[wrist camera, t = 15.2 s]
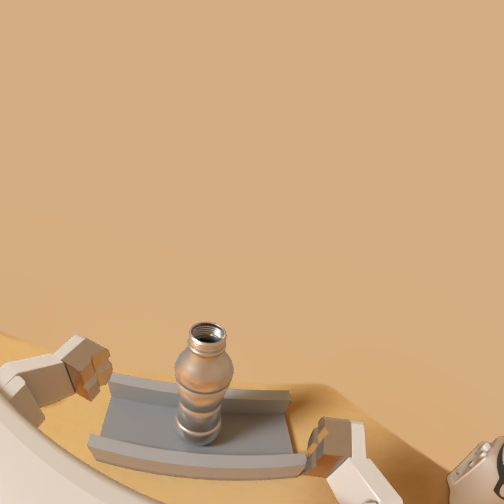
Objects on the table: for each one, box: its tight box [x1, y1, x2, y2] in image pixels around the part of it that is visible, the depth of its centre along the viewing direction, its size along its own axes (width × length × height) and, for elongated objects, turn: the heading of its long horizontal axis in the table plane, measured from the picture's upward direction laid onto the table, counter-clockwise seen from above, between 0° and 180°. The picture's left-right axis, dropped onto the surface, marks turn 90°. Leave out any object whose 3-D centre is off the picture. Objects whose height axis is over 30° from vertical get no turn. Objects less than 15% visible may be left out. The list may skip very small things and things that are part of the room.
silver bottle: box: [174, 322, 234, 446], centre depth 30 cm, size 6×7×20 cm
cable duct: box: [87, 372, 307, 480], centre depth 33 cm, size 28×14×5 cm, turn 96°
